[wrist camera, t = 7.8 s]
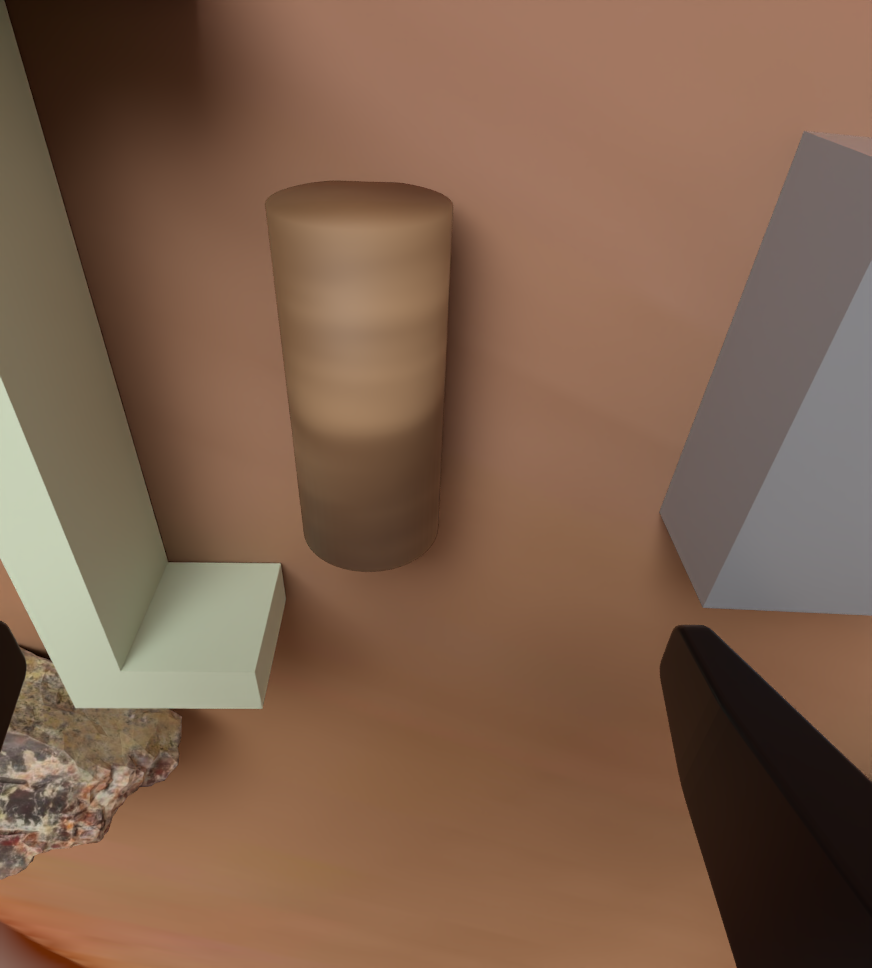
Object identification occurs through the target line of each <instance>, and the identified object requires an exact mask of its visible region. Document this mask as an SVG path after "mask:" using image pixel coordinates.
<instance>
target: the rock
mask: <svg viewBox="0 0 872 968" xmlns="http://www.w3.org/2000/svg"><path fill="white" fill-rule="evenodd" d="M20 649H21V651H22V653H23V654H24V656H25V659H26V664H27V671H26V676H25V680H24V683H23V686H22V689H21V692H20V695H19V698H18V701H17V704H16V707H15V710H14V713H13V716H12V719H11V722H10V725H9V728H8V731H7V734H6V737H5V740H4V743H3V746H2V749H1V752H0V879H4V878H6V877H8V876H11V875H16V874H17V873H19V872H21V871H22V870H24V869H26V868H27V866H28V865H29V863H31V862H32V861H33V858H34V856H35V855H37V854H39V853H44V852H48V851H50V850H51V849H62V848H72V847H73V846H75V845H81V844H89V843H97V842H99V841H101V840H102V839H103V837H104V835H105V834H106V833H107V832H108V830H109V827H110V824H111V820H112V817H113V815H114V814H115V813H116V811H117V809H118V807H120V806H121V805H122V804H123V803H124V801H125V799H126V798H127V797H128V796H129V795H131V794H132V793H134V792H135V791H137V790H138V788H139V787H148V786H152V785H153V784H154V783H157V782H161V781H164V780H165V779H166V778H167V777H168V775H169V774H170V772H171V771H173V770H174V769H175V768H176V766H177V765H178V762H179V751H178V746H179V744H180V739H181V731H182V725H181V722H182V716H180V715H178V714H177V713H175V712H174V711H172V710H169V709H167V708H75V706H74V704H73V702H72V700H71V698H70V696H69V694H68V692H67V690H66V688H65V686H64V684H63V682H62V680H61V678H60V676H59V674H58V672H57V670H56V668H55V666H54V664H53V662H52V661H50V660H48V659H46V658H42V657H39V656H36V655H35V654H33V653H31V652H29V651H27V650H25V649H23V648H21V647H20Z"/></svg>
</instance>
